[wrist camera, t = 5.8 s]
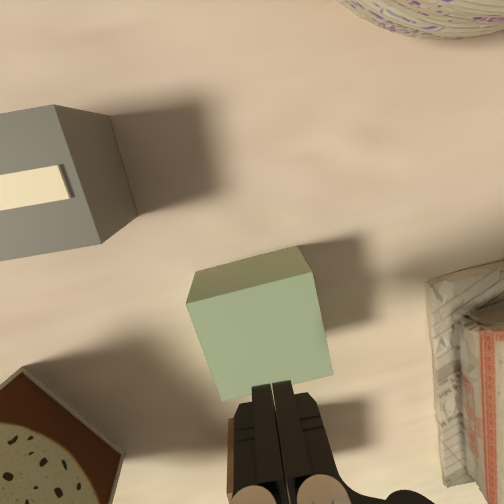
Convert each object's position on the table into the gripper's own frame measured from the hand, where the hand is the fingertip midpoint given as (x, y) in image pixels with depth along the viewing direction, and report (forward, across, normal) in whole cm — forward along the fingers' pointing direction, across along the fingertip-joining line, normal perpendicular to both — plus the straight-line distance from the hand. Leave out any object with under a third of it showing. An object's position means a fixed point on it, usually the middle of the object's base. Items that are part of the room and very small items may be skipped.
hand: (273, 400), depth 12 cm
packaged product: (+8, -16, +9) cm, 20 cm away
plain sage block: (+8, 0, 0) cm, 8 cm away
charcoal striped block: (+8, +8, -9) cm, 14 cm away
